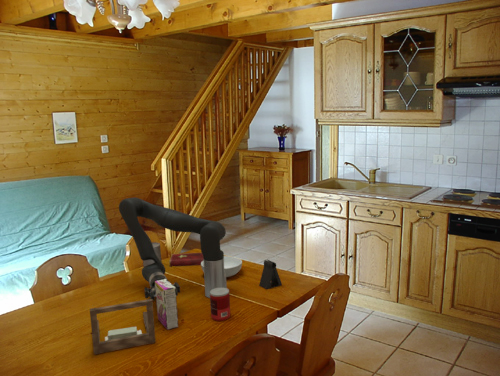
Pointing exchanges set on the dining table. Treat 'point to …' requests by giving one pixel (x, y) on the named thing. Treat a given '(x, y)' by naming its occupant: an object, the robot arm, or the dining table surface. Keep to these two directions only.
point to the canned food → (220, 304)
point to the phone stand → (270, 276)
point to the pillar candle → (157, 251)
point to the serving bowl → (229, 265)
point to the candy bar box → (166, 303)
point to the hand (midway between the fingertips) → (164, 296)
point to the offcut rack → (125, 341)
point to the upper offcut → (122, 333)
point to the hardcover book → (186, 259)
